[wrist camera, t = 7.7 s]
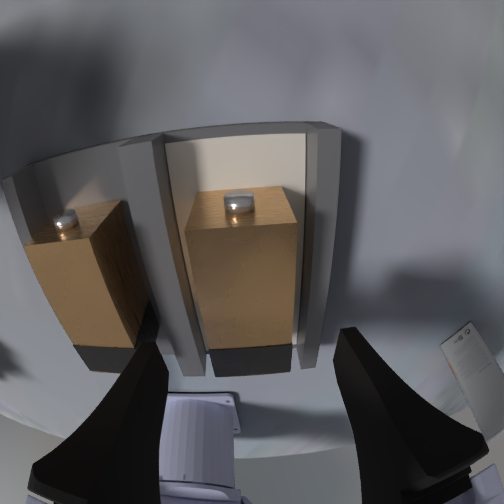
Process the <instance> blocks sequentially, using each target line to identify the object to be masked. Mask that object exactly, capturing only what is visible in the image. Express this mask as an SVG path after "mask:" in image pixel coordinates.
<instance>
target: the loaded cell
mask: <svg viewBox="0 0 504 504" xmlns="http://www.w3.org/2000/svg"><path fill="white" fill-rule="evenodd" d="M23 247H24V249H25V252H26V254H27V257H28V259H29V261H30V264H31V266H32V268H33V270H34V272H35V275H36V277H37V279H38V281H39V283H40V285H41V287H42V289H43V291H44V293H45V295H46V297H47V299H48V301H49V303H50V305H51V306H52V308H53V310H54V312H55V314H56V316H57V317H58V319H59V321H60V323H61V324H62V326H63V328H64V329H65V331H66V333H67V334H68V336H69V338H70V339H71V341H72V342H73V344H74V345H73V346H74V348H75V349H76V351H77V352H78V354H79V355H80V357H81V358H82V360H83V361H84V363H85V364H86V365H87V367H88V368H89V370H90V371H97V372H108V373H120V374H121V373H122V371H123V370H124V368H125V367H126V365H127V363H128V362H129V360H130V359H131V357H132V356H133V354H134V352H135V351H136V349H137V348H138V346H139V345H140V343H141V342H156V339H157V335H158V331H159V327H160V326H159V323H158V320H157V318H156V315H155V312H154V309H153V306H152V304H151V301H150V299H149V296H148V293H147V290H146V287H145V284H144V281H143V278H142V274H141V271H140V268H139V265H138V261H137V258H136V255H135V251H134V248H133V244H132V240H131V237H130V233H129V229H128V225H127V222H126V218H125V214H124V209H123V205H122V201H121V200H117V201H110V202H103V203H97V204H91V205H85V206H79V207H73V208H68V209H62V210H61V211H59V212H58V213H57V214H56V215H55V216H54V217H53V218H52V219H51V220H50V221H49V222H47V223H46V224H45V225H44V226H43V227H42V228H41V229H40V230H39V231H38V232H37V233H36V234H35V235H34V236H33V237H32V238H31V239H30V240H29V241H28V242H27V243H26V244H25V245H24V246H23Z"/></svg>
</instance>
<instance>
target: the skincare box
mask: <svg viewBox="0 0 504 504" xmlns="http://www.w3.org/2000/svg"><path fill="white" fill-rule="evenodd" d="M440 347H441V349H442V351H443V353H444V355H445V357H446V359H447V361H448V364H449V366H450V368H451V370H452V371H453V373H454V375H455V377H456V379H457V381H458V384H459V386H460V388H461V390H462V392H463V394H464V396H465V398H466V400H467V402H468V404H469V406H470V408H471V411H472V412H473V415H474V417H475V419H476V422H477V424H478V426H479V428H480V431H481V433H482V435H483V436H484V439H485V441H486V443H487V444H488V443H490V442H491V441H493V440H494V439H495V438H497V437H498V436H500V435H501V434H502V433H504V373H503V372H502V370H501V368H500V366H499V365H498V363H497V361H496V360H495V358H494V356H493V355H492V353H491V352H490V350H489V348H488V347H487V345H486V344H485V342H484V340H483V339H482V337H481V336H480V334H479V333H478V331H477V330H476V328H475V327H474V325H473V324H472V323H471V322H470V323H468V324H467V325H466V326H464V327H463V328H462V329H461V330H460V331H458V332H457V333H456V334H455V335H453V336H452V337H451V338H449V339H448V340H447V341H445V342H444V343H443V344H441V346H440Z"/></svg>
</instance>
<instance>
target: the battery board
mask: <svg viewBox="0 0 504 504" xmlns="http://www.w3.org/2000/svg"><path fill="white" fill-rule="evenodd" d="M340 158H341V129H339V128H337V127H335V126H332V125H330V124H327V123H325V122H259V123H241V124H227V125H216V126H206V127H197V128H188V129H181V130H173V131H167V132H160V133H154V134H148V135H142V136H137V137H132V138H126V139H122V140H117V141H112V142H108V143H103V144H99V145H95V146H91V147H87V148H83V149H79V150H75V151H71V152H68V153H64V154H61V155H57V156H54V157H51V158H47V159H44V160H41V161H38V162H35V163H32V164H29V165H27V166H25V167H23V168H21V169H19V170H18V171H16V172H14V173H12V174H11V175H9V176H7V177H6V178H4V179H2V180H1V182H2V186H3V189H4V193H5V196H6V200H7V203H8V206H9V209H10V212H11V215H12V218H13V221H14V224H15V227H16V230H17V232H18V235H19V238H20V240H21V243H22V245H23V246H24V245H25V244H26V243H27V242H28V241H29V240H30V239H31V238H32V237H33V236H34V235H35V234H36V233H37V232H38V231H39V230H40V229H41V228H42V227H43V226H44V225H45V224H46V223H47V222H49V221H50V220H51V219H52V218H53V217H54V216H55V215H56V214H57V213H58V212H59V211H61V210H62V209H68V208H73V207H79V206H85V205H91V204H97V203H103V202H110V201H117V200H121V201H122V205H123V209H124V214H125V218H126V222H127V225H128V229H129V233H130V237H131V240H132V244H133V248H134V251H135V255H136V258H137V261H138V265H139V268H140V271H141V274H142V278H143V281H144V284H145V287H146V290H147V293H148V296H149V299H150V301H151V304H152V306H153V309H154V312H155V315H156V318H157V320H158V323H159V326H160V327H159V331H158V335H157V339H156V344H157V346H158V348H159V351H160V353H161V354H175V356H176V358H177V361H178V363H179V366H180V368H181V371H182V373H183V376H205V370H206V355H207V354H209V345H208V341H207V337H206V333H205V329H204V324H203V320H202V316H201V311H200V307H199V302H198V298H197V293H196V288H195V284H194V279H193V274H192V269H191V264H190V259H189V254H188V248H187V243H186V238H185V232H184V230H185V227H186V224H187V221H188V218H189V215H190V212H191V209H192V206H193V203H194V200H195V197H196V194H197V192H203V191H214V190H226V189H240V188H255V187H272V186H281V187H282V189H283V191H284V194H285V196H286V198H287V200H288V202H289V205H290V207H291V209H292V212H293V214H294V216H295V218H296V221H297V251H296V276H295V296H294V313H293V329H292V344H293V346H292V348H296V347H297V352H298V357H299V362H300V366H301V369H307V368H315V367H316V362H317V357H318V351H319V346H320V340H321V335H322V329H323V323H324V316H325V310H326V303H327V297H328V289H329V282H330V274H331V266H332V258H333V249H334V240H335V230H336V219H337V207H338V193H339V178H340ZM23 248H24V247H23ZM24 250H25V249H24ZM25 253H26V252H25ZM26 255H27V254H26ZM28 260H29V259H28ZM29 262H30V261H29ZM31 267H32V266H31ZM32 269H33V268H32ZM33 271H34V270H33ZM34 273H35V272H34ZM37 280H38V279H37ZM38 282H39V281H38ZM39 284H40V283H39ZM40 286H41V285H40ZM41 288H42V287H41ZM42 290H43V289H42ZM43 292H44V291H43ZM44 294H45V293H44ZM45 296H46V295H45ZM46 298H47V297H46ZM47 300H48V299H47ZM51 307H52V306H51ZM52 309H53V308H52ZM53 311H54V310H53ZM54 313H55V312H54ZM57 318H58V317H57ZM58 320H59V319H58ZM61 325H62V324H61ZM62 327H63V326H62ZM64 330H65V329H64ZM65 332H66V331H65ZM67 335H68V334H67ZM68 337H69V336H68ZM70 340H71V339H70ZM72 343H73V342H72ZM73 345H74V344H73ZM94 372H97V371H94Z"/></svg>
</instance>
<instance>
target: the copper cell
mask: <svg viewBox="0 0 504 504" xmlns="http://www.w3.org/2000/svg"><path fill="white" fill-rule="evenodd" d="M184 232H185V238H186V243H187V248H188V254H189V259H190V264H191V269H192V274H193V279H194V284H195V288H196V293H197V298H198V302H199V307H200V311H201V316H202V320H203V324H204V329H205V333H206V337H207V341H208V345H209V354H210V358H211V362H212V366H213V370H214V373H215V377H233V376H250V375H264V374H275V373H285V372H290V370H291V358H292V346H293V344H292V329H293V313H294V296H295V276H296V251H297V221H296V218H295V216H294V214H293V212H292V209H291V207H290V205H289V202H288V200H287V198H286V196H285V194H284V191H283V189H282V187H281V186H272V187H255V188H240V189H226V190H214V191H203V192H197V194H196V197H195V200H194V203H193V206H192V209H191V212H190V215H189V218H188V221H187V224H186V227H185V230H184Z"/></svg>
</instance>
